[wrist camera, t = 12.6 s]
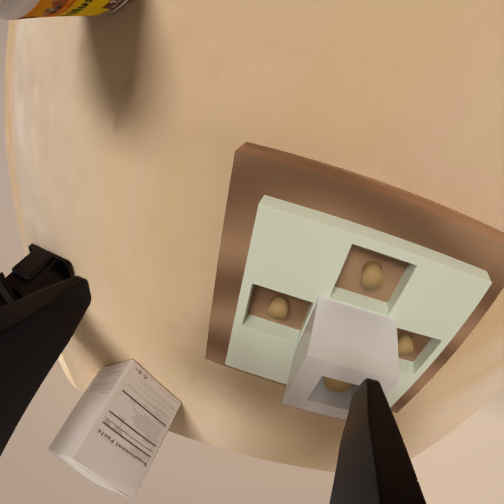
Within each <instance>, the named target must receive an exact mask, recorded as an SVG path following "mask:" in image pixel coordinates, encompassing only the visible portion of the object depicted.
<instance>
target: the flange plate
mask: <svg viewBox="0 0 504 504" xmlns="http://www.w3.org/2000/svg"><path fill="white" fill-rule="evenodd" d="M352 244H354V245H357V246H360V247H363V248H367V249H370V250H373V251H376V252H379V253H382V254H384V255H387V256H390V257H393V258H396V259H399V260H402V261H405V262H408V263H409V264H408V266H407V268H406V270H405V272H404V274H403V275H402V277H401V279H400V281H399V283H398V285H397V286H396V288H395V290H394V292H393V294H392V295H391V297H390V299H389V300H388V302H383V301H380V300H377V299H374V298H371V297H367V296H364V295H361V294H358V293H354V292H351V291H348V290H345V289H342V288H338V287H335V283H336V281H337V279H338V276H339V274H340V272H341V269H342V267H343V265H344V262H345V260H346V257H347V255H348V253H349V250H350V248H351V245H352ZM254 284H256V285H259V286H262V287H265V288H268V289H271V290H274V291H278V292H281V293H284V294H287V295H290V296H293V297H297V298H300V299H303V300H306V301H309V302H311V305H310V307H309V309H308V312H307V314H306V317H305V319H304V321H303V324H302V326H301V328H300V330H297V329H294V328H291V327H288V326H285V325H281V324H278V323H275V322H272V321H269V320H266V319H263V318H260V317H257V316H253V315H250V314H247V312H248V308H249V304H250V300H251V296H252V292H253V288H254ZM491 284H492V282H491V279H490V277H489V275H488V273H487V271H485V270H483V269H480V268H478V267H475V266H473V265H470V264H468V263H465V262H463V261H460V260H458V259H455V258H452V257H450V256H447V255H445V254H442V253H439V252H437V251H434V250H431V249H428V248H426V247H423V246H420V245H418V244H415V243H412V242H409V241H406V240H404V239H401V238H398V237H395V236H392V235H389V234H387V233H384V232H381V231H378V230H375V229H372V228H369V227H366V226H363V225H360V224H357V223H354V222H351V221H348V220H345V219H342V218H339V217H336V216H333V215H329V214H326V213H323V212H320V211H317V210H313V209H310V208H307V207H304V206H300V205H297V204H294V203H291V202H287V201H284V200H280V199H277V198H274V197H270V196H267V195H264V196H263V198H262V199H261V201H260V202H259V204H258V209H257V214H256V219H255V223H254V228H253V233H252V238H251V242H250V247H249V252H248V256H247V261H246V266H245V271H244V275H243V280H242V285H241V290H240V294H239V299H238V304H237V309H236V314H235V318H234V323H233V328H232V333H231V337H230V342H229V347H228V352H227V357H226V361H225V364H226V365H228V366H231V367H234V368H237V369H240V370H243V371H246V372H249V373H252V374H255V375H258V376H261V377H264V378H267V379H271V380H274V381H277V382H280V383H284V384H286V388H285V392H284V395H283V399H282V403H281V404H285V405H288V406H292V407H295V408H299V409H303V410H306V411H310V412H314V413H318V414H322V415H326V416H330V417H334V418H338V419H343V420H346V419H347V415H348V411H349V407H350V403H351V399H352V396H353V394H354V392H355V390H356V389H357V388H358V387H359V385H360V384H361V383H362V382H363V380H364V379H366V378H370V379H374V380H377V381H379V382H380V384H381V387H382V389H383V391H384V394H385V396H386V399H387V401H388V404H389V406H390V407H391V406H392V405H393V404H394V403H395V402H396V401H397V400H398V399H399V398H400V397H401V396H402V395H403V394H404V393H405V392H406V391H407V390H408V389H409V388H410V387H411V386H412V385H413V384H414V383H415V382H416V381H417V379H418V378H419V377H420V376H421V375H422V374H423V373H424V372H425V371H426V369H427V368H428V367H429V366H430V365H431V364H432V363H433V361H434V360H435V359H436V358H437V357H438V356H439V354H440V353H441V352H442V351H443V350H444V348H445V347H446V346H447V345H448V343H449V342H450V341H451V340H452V338H453V337H454V336H455V335H456V333H457V332H458V331H459V329H460V328H461V327H462V325H463V324H464V323H465V321H466V320H467V319H468V317H469V316H470V315H471V313H472V312H473V310H474V309H475V308H476V306H477V305H478V303H479V302H480V301H481V299H482V298H483V296H484V295H485V293H486V292H487V290H488V289H489V287H490V286H491ZM397 328H400V329H403V330H407V331H410V332H414V333H417V334H421V335H424V336H428V337H431V338H432V339H431V340H430V341H429V342H428V344H427V345H426V346H425V348H424V349H423V350H422V351H421V353H420V354H419V355H418V356H417V358H416V359H415V360H414V361H413V362H412V361H408V360H404V359H400V358H398V339H397ZM325 377H328V378H332V379H336V380H339V381H343V382H347V383H351V384H353V386H352V388H351V389H350V390H348V391H345V392H334V391H331V390H329V389H327V388H326V387H325V385H324V382H325Z"/></svg>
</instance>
